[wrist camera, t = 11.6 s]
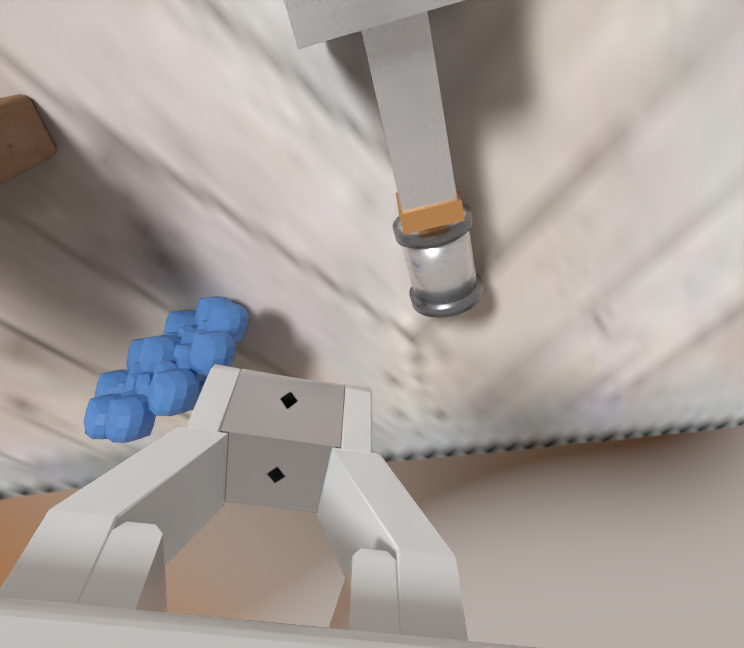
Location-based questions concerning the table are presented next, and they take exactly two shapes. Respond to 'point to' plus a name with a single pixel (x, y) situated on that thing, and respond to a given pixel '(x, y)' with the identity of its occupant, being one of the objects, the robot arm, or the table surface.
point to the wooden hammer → (21, 137)
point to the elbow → (397, 95)
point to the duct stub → (441, 267)
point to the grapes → (165, 371)
